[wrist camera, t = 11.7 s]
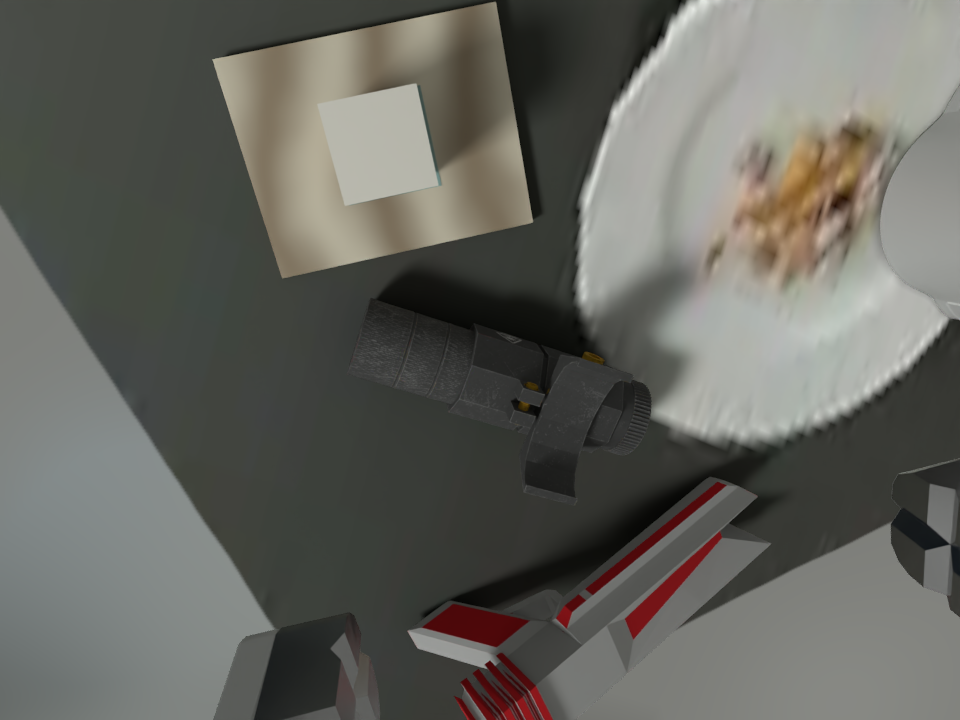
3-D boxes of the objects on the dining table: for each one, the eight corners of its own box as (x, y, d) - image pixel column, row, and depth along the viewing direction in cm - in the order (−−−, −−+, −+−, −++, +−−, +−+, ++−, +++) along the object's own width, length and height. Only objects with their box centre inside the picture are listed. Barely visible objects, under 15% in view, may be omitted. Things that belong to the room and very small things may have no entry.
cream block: (414, 92, 35) (416, 83, 30) (433, 181, 37) (438, 185, 32) (328, 110, 35) (316, 104, 30) (352, 199, 36) (344, 206, 32)
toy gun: (652, 492, 64) (779, 554, 50) (428, 666, 54) (512, 798, 41) (633, 438, 61) (761, 489, 48) (396, 611, 52) (474, 732, 39)
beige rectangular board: (493, 5, 39) (496, 1, 38) (530, 221, 44) (533, 222, 43) (217, 61, 38) (212, 59, 37) (285, 275, 43) (282, 278, 42)
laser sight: (381, 262, 44) (375, 291, 35) (651, 352, 49) (711, 400, 39) (343, 382, 47) (328, 440, 37) (603, 457, 51) (649, 525, 42)
